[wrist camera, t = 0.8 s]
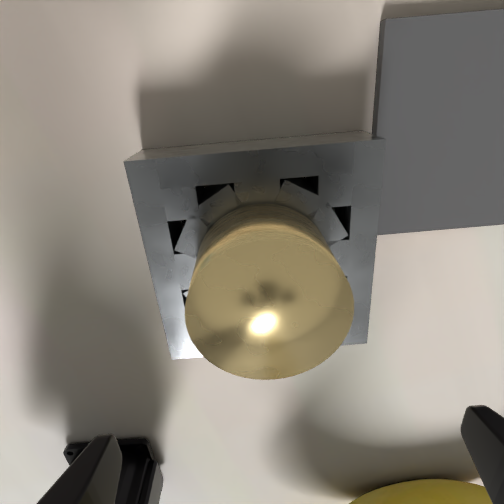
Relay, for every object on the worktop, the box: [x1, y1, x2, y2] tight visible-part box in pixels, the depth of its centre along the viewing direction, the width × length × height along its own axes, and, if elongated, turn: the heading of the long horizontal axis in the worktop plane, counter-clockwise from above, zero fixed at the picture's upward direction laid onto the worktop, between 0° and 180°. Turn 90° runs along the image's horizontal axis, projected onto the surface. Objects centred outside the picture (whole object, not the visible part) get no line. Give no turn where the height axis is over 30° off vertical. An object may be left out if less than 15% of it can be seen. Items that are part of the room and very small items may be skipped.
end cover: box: [185, 204, 354, 380], centre depth 16 cm, size 6×6×7 cm
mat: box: [372, 9, 504, 235], centre depth 17 cm, size 10×10×1 cm
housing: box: [124, 131, 386, 360], centre depth 18 cm, size 11×11×3 cm
